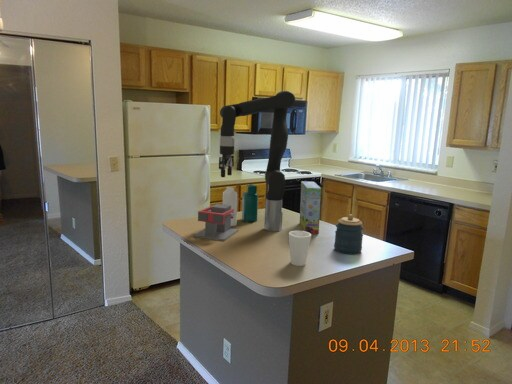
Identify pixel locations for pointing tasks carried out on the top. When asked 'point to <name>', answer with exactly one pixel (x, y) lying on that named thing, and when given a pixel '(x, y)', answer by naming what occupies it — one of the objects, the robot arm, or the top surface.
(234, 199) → the milk
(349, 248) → the lidded canister
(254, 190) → the teal bottle
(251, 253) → the top surface
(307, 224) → the snack box
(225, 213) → the red c-shaped frame
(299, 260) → the foam cup
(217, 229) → the stand
